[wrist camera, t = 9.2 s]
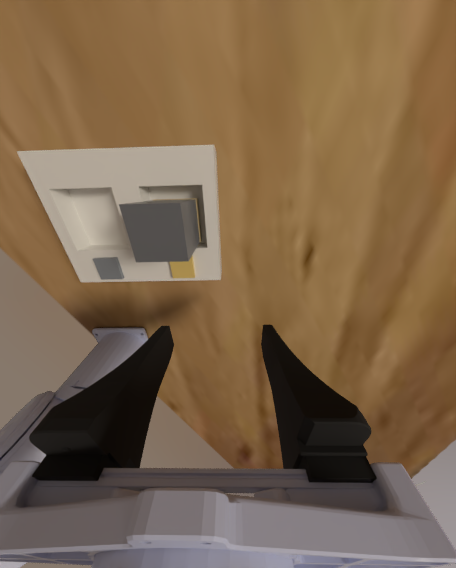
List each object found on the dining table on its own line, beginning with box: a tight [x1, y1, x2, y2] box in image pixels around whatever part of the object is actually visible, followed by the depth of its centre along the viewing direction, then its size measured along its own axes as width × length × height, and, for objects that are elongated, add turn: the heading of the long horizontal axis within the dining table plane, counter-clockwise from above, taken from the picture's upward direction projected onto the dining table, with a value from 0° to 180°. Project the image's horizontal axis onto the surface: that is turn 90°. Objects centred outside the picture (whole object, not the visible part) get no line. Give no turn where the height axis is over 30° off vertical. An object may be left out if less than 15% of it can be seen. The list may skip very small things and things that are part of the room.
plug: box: [119, 198, 202, 262], centre depth 15 cm, size 4×4×7 cm
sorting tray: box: [17, 145, 222, 282], centre depth 17 cm, size 12×16×3 cm
